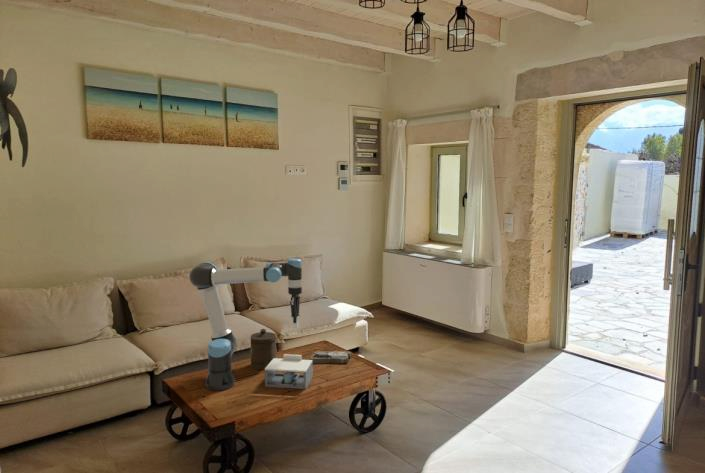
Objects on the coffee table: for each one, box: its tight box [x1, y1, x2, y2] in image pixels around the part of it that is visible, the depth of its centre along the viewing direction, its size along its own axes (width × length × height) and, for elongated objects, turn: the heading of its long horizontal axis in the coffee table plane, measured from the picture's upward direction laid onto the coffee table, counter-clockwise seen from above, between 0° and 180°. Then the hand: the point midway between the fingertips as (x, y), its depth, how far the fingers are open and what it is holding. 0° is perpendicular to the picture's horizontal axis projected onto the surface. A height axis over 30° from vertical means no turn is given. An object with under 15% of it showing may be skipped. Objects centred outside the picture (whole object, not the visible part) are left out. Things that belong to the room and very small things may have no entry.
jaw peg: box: [283, 371, 293, 384], centre depth 252 cm, size 5×5×6 cm
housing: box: [264, 362, 314, 390], centre depth 256 cm, size 22×16×10 cm
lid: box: [264, 353, 313, 373], centre depth 255 cm, size 22×15×3 cm
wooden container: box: [250, 328, 277, 371], centre depth 281 cm, size 15×15×22 cm
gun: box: [309, 350, 352, 365], centre depth 291 cm, size 4×24×15 cm
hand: (295, 327), depth 267 cm, fingers closed
